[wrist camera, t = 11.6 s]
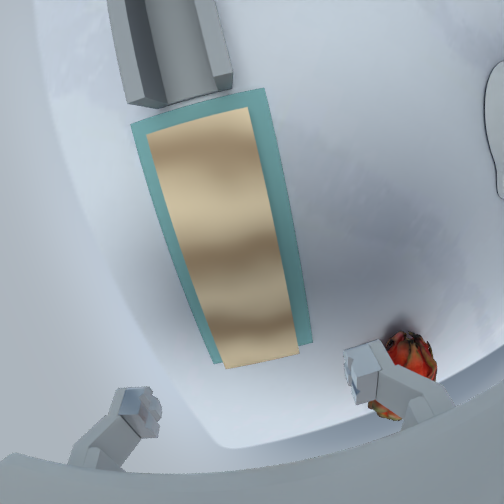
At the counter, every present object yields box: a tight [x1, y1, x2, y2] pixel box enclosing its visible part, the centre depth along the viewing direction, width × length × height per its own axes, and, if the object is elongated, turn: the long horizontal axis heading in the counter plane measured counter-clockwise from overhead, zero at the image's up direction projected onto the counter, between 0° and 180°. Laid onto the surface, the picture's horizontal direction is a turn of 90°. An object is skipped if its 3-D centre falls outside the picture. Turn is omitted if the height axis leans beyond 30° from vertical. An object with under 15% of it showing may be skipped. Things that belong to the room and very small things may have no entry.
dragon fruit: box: [368, 331, 437, 421], centre depth 28 cm, size 8×8×12 cm
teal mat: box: [130, 88, 313, 364], centre depth 24 cm, size 23×10×1 cm, turn 13°
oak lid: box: [146, 107, 299, 369], centre depth 23 cm, size 20×7×3 cm, turn 13°
